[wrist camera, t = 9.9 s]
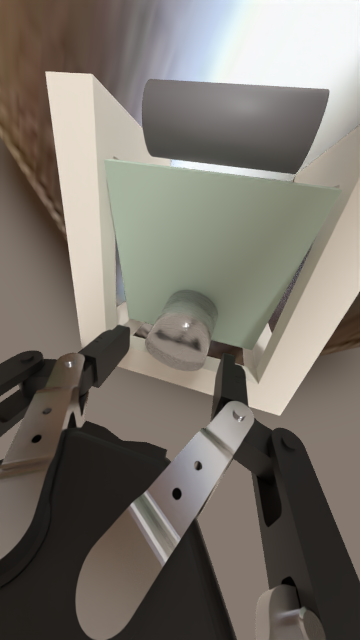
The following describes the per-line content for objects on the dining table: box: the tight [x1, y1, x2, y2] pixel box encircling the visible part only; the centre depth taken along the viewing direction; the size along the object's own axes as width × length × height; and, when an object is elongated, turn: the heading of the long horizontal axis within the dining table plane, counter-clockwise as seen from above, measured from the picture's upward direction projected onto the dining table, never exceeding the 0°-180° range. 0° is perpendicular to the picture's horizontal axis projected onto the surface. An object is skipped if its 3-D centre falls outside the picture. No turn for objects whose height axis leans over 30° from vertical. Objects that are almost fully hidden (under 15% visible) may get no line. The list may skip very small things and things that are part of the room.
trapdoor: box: [104, 79, 342, 350], centre depth 16 cm, size 18×14×5 cm
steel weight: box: [145, 290, 218, 371], centre depth 16 cm, size 5×5×5 cm
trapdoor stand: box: [46, 72, 360, 416], centre depth 21 cm, size 21×21×16 cm
